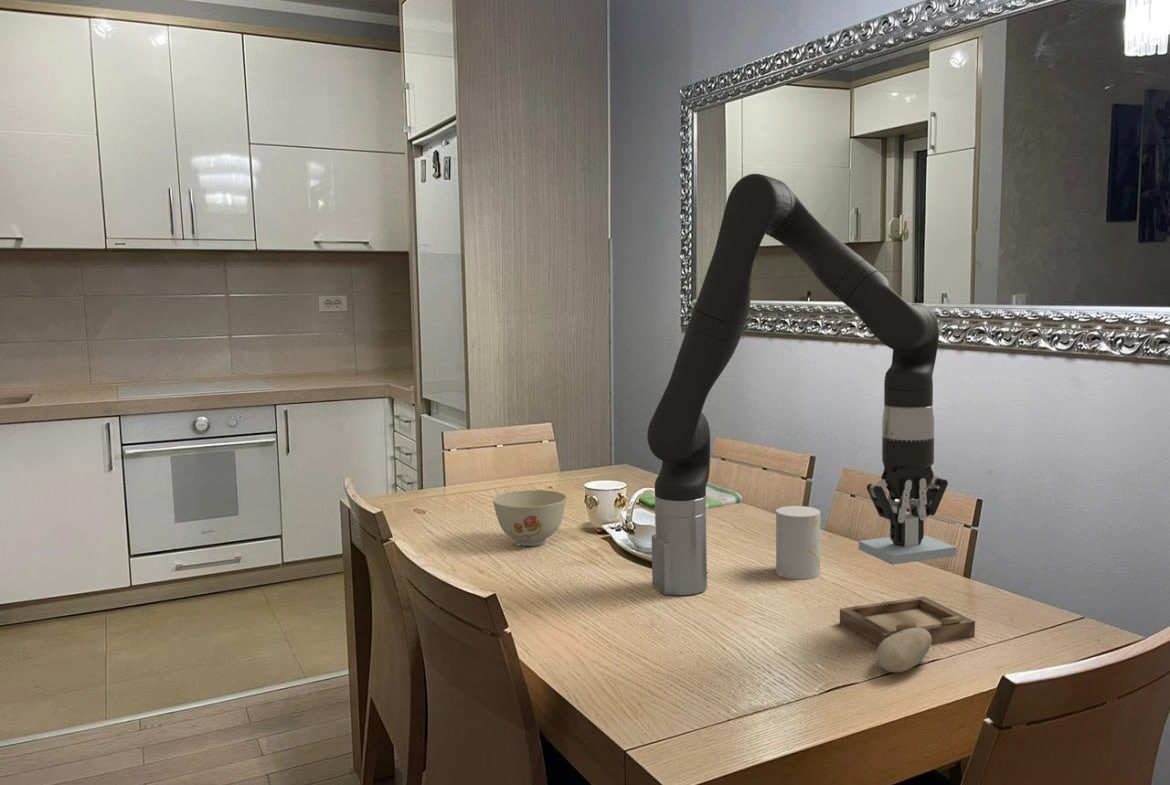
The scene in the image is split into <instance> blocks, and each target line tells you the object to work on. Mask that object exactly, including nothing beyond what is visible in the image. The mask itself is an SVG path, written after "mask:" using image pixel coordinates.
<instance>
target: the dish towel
mask: <svg viewBox="0 0 1170 785" xmlns="http://www.w3.org/2000/svg"><path fill="white" fill-rule="evenodd" d="M646 492H647V493H646ZM646 492H644V493H645V494H644V495H642V496H641V497H640V498H639V504H638V505H641V504H642V505H641V506H643V505H644V507H646V508H648V509H651V510H654V511H655V494H654V493H652V491H646ZM741 502H743V497H742V495H741V494H740V493H738V492H736V491H733V490H731V489H726V488H724V487H720V486H719V485H716V484H712V483H710V482H709V481H708V482H707V485H706V510H708V509H714V508H715V507H716V508H720V507H721V506H722V507H726V506H725V505H727V506H731V504H732V505H735V504H734V503H736V504H741ZM640 503H641V504H640Z"/></svg>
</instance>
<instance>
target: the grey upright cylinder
mask: <svg viewBox="0 0 1170 785" xmlns="http://www.w3.org/2000/svg"><path fill="white" fill-rule="evenodd" d="M775 523H776V524H775V527H776V528H775V538H776V539H775V541H776V542H775V547H776V548H775V553H776V554H775V558H776V559H775V563H776V564H775V568H776V569H775V572H776V574H777V575H778V576H780V577H783V578H786V579H790V580H801V581H802V580H811V579H815V578H818V577H819V576H821V511H820V509H817V508H815V507H812V506H804V505H789V506H788V505H787V506H781V507H778V508H776V510H775Z"/></svg>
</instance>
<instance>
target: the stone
mask: <svg viewBox="0 0 1170 785" xmlns="http://www.w3.org/2000/svg"><path fill="white" fill-rule="evenodd" d="M931 641H932V638H931V635H930V633H929V632H928V631H927V630H925V629H923V628H909V629H905V630H902V631H899V632H897V633H895V634H893V635H891V636H889V637H887V638H886V639H884V640H883V641H882V642H881V643H880V645H879V646H877V649H876V659H877V662H878V664H879V665H880V667H881V668H882V669H883V670H886V671H887V672H890V673H903V672H906V671H908V670H910V669H912V668H913V667H916V666H917V665H918V664H919V663H920V662H921V661H922V660H923V658H925V657H926V655H927V653H928V652H929V649H931V648H930V647H931V645H932V643H931Z"/></svg>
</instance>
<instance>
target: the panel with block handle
mask: <svg viewBox="0 0 1170 785" xmlns="http://www.w3.org/2000/svg"><path fill="white" fill-rule="evenodd" d="M918 521H919V517H916V516H913V515H910V513H905V520H904V522H903V523H905V545H904V546H898V545H895V544H894V543H893V541H891V538H890V536H887V537H880V538H872V539H863V540H858V550H859V551H861V552H864V553H865V554H868V555H870V556H872V557H874V558H876V559H879V560H880V561H883V562H884V563H888V564H889V565H900V564H906V563H914V562H915V563H916V562H920V561H928V560H929V561H930V560H937V559H943V558H950V557H951V558H952V557H956V556H957V546H955V545H952V544H949V543H947V542H944V541H942V540H939V539H936V538H934V537H931V536H930V535H929V536H928V535H926V534H924V537H923V540H921V543H920V544H918Z"/></svg>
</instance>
